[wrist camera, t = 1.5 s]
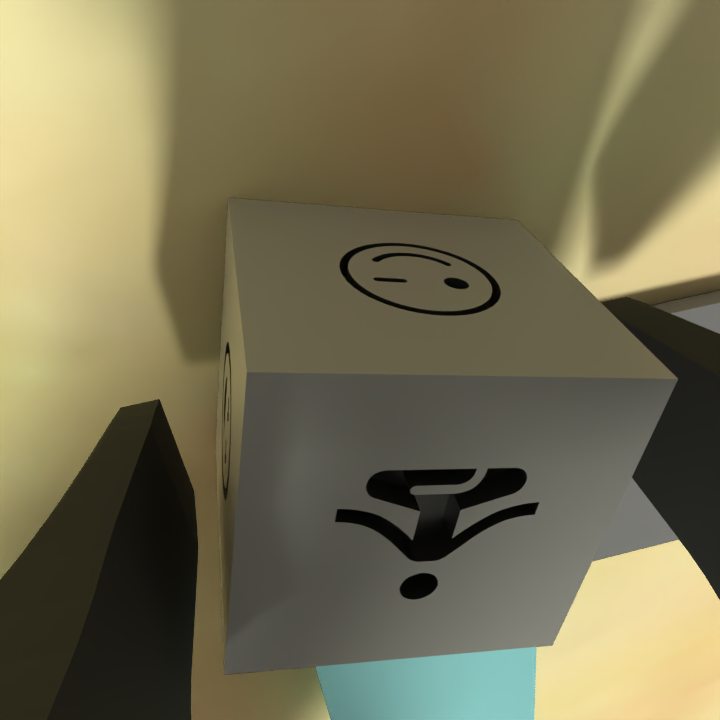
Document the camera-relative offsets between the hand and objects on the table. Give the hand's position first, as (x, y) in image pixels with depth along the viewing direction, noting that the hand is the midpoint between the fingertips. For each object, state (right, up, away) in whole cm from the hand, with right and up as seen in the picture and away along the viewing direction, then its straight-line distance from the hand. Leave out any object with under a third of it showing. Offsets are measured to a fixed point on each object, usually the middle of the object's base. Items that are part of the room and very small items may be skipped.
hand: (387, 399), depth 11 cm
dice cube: (0, +1, +2) cm, 2 cm away
